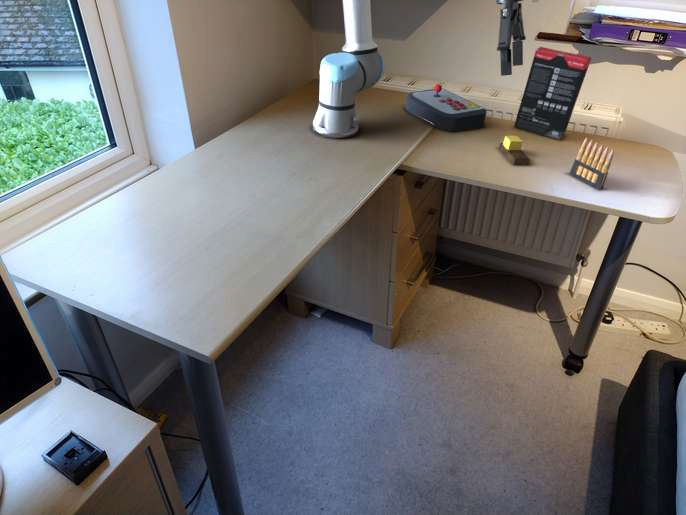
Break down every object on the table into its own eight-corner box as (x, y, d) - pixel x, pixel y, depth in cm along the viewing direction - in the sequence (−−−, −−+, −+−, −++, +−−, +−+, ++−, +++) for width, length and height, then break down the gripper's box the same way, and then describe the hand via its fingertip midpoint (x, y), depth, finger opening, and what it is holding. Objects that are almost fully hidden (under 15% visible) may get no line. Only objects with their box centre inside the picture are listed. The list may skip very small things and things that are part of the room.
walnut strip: (498, 148, 166) (500, 142, 165) (512, 148, 167) (514, 142, 165) (513, 165, 156) (515, 159, 155) (528, 164, 157) (530, 159, 156)
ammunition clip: (602, 188, 147) (618, 150, 140) (598, 190, 146) (614, 151, 139) (572, 173, 154) (586, 135, 147) (568, 174, 153) (582, 136, 146)
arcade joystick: (398, 106, 192) (401, 80, 186) (437, 101, 200) (442, 75, 194) (445, 134, 173) (450, 105, 167) (487, 126, 181) (493, 99, 175)
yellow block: (502, 144, 164) (505, 135, 162) (515, 144, 164) (517, 136, 162) (508, 150, 160) (510, 141, 158) (520, 150, 161) (523, 141, 159)
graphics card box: (565, 135, 179) (593, 55, 163) (561, 141, 174) (589, 59, 158) (518, 123, 186) (540, 45, 170) (512, 128, 181) (534, 48, 165)
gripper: (514, -13, 122) (515, 78, 132) (535, -21, 140) (535, 60, 150) (483, -8, 126) (486, 80, 135) (507, -16, 144) (509, 62, 154)
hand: (512, 70), depth 143 cm, fingers open, 13 cm apart
